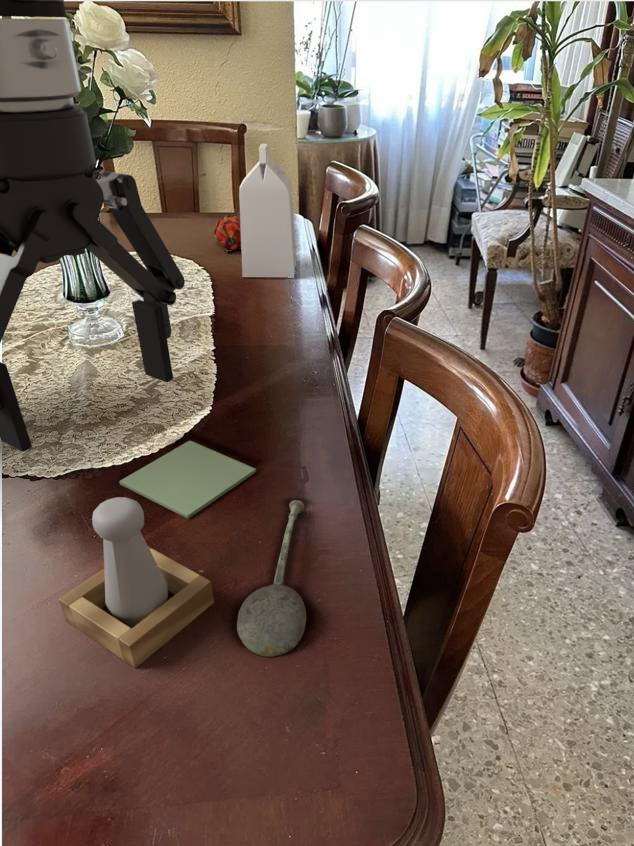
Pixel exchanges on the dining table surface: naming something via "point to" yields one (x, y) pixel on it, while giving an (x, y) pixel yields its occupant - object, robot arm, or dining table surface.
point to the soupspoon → (274, 608)
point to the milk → (267, 220)
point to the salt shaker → (128, 562)
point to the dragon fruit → (228, 233)
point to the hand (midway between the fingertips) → (94, 408)
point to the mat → (188, 478)
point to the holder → (151, 632)
